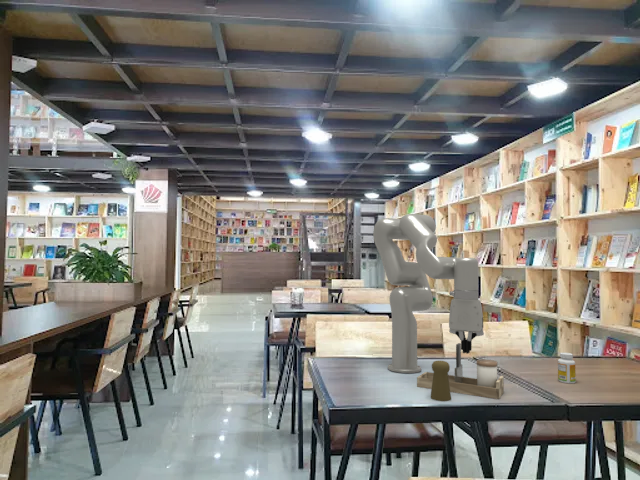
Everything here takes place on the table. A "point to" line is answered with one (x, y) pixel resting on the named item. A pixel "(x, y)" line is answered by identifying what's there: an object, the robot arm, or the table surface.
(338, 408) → the table surface
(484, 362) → the jar
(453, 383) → the wooden tray
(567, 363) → the supplement bottle
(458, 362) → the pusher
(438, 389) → the olive brown waisted cylinder
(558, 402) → the table surface
